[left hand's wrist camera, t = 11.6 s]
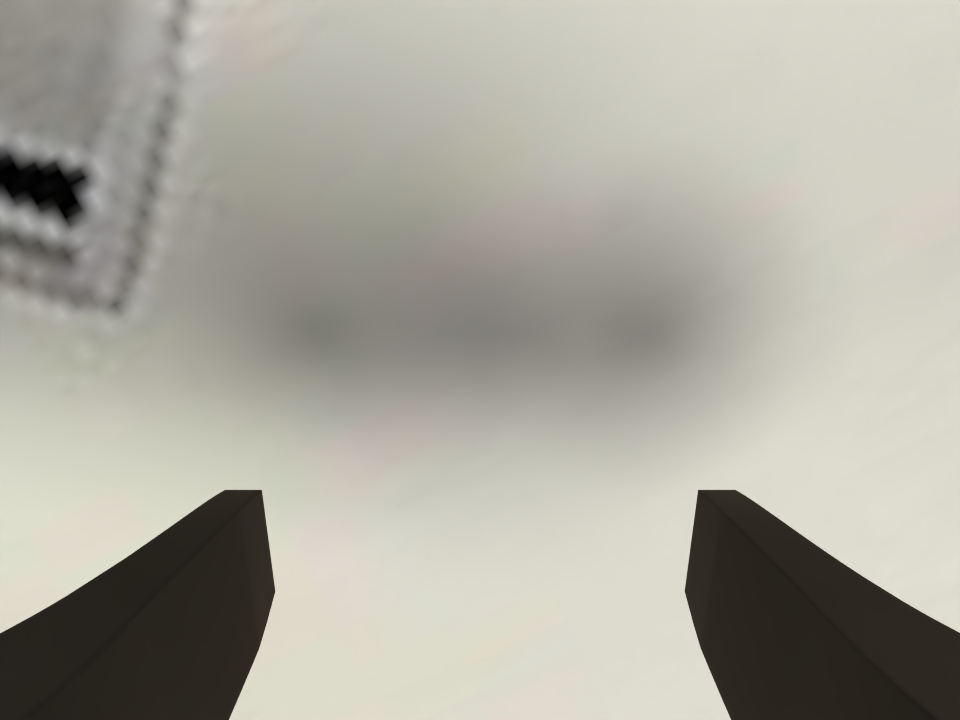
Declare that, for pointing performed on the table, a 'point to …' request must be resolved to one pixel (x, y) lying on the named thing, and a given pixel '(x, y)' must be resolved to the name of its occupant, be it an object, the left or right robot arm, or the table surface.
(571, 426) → the table surface
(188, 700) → the left robot arm
